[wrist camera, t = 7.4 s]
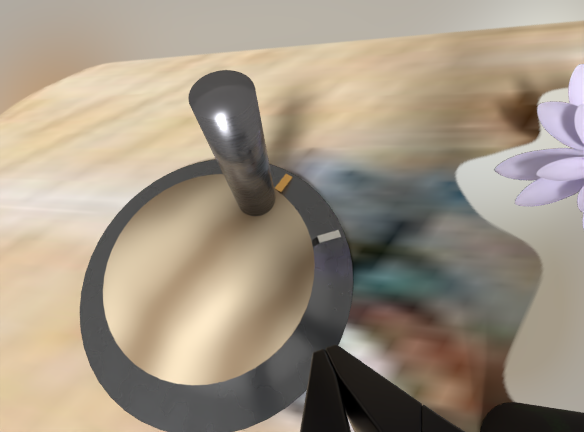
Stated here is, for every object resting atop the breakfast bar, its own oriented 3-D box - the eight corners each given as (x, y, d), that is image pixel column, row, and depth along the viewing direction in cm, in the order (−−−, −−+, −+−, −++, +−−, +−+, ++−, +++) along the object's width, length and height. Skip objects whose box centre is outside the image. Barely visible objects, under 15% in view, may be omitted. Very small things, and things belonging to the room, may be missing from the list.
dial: (348, 235, 22) (392, 135, 11) (238, 434, 17) (125, 603, 6) (201, 158, 25) (126, 25, 15) (74, 303, 20) (-180, 264, 10)
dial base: (397, 373, 19) (401, 375, 18) (84, 481, 17) (72, 489, 16) (305, 140, 27) (305, 133, 26) (89, 196, 26) (81, 191, 25)
